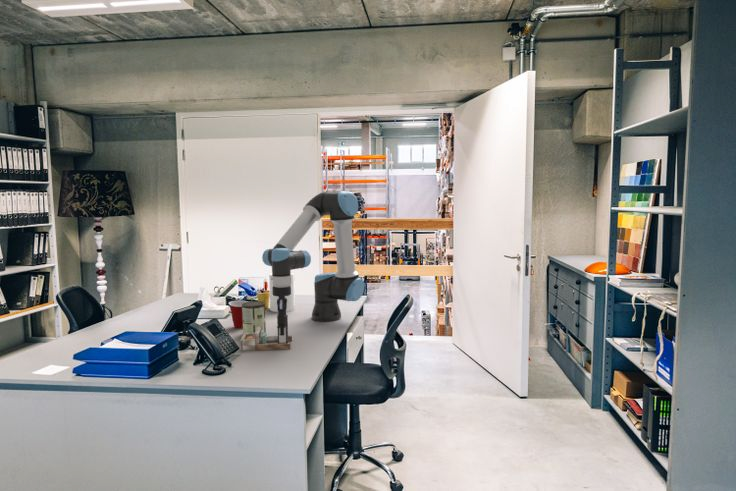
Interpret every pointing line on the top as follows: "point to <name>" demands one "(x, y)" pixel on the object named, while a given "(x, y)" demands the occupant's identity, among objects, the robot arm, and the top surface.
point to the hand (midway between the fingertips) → (282, 340)
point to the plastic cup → (237, 313)
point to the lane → (254, 343)
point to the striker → (265, 339)
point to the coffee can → (253, 316)
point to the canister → (289, 298)
